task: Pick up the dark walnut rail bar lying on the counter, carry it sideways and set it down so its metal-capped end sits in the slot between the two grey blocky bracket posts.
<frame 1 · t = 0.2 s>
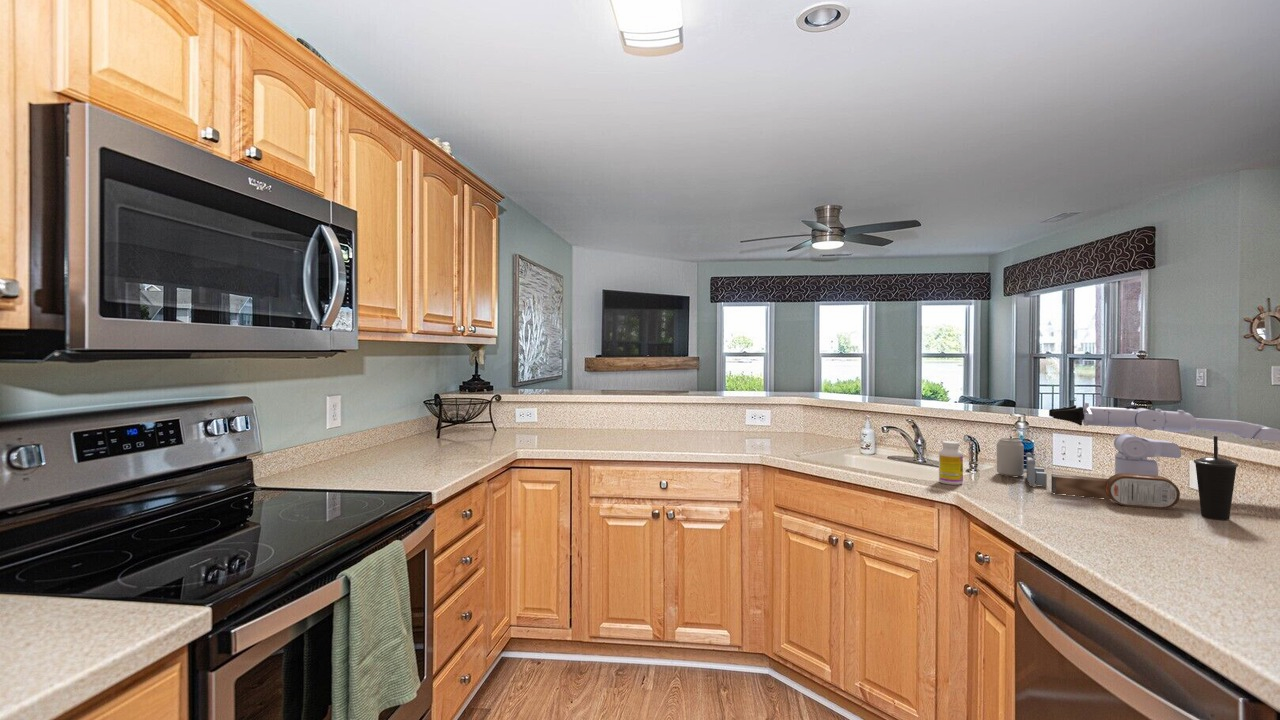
hand: (1051, 413, 178), 21 cm above the counter, tool horizontal, fingers open, 7 cm apart
drinking cup: (1215, 518, 139), on the counter
can: (1010, 475, 187), on the counter
grey blocky bracket: (1036, 482, 176), on the counter
rail: (1080, 495, 161), on the counter
tin: (1141, 507, 149), on the counter
supplement bottle: (950, 483, 177), on the counter
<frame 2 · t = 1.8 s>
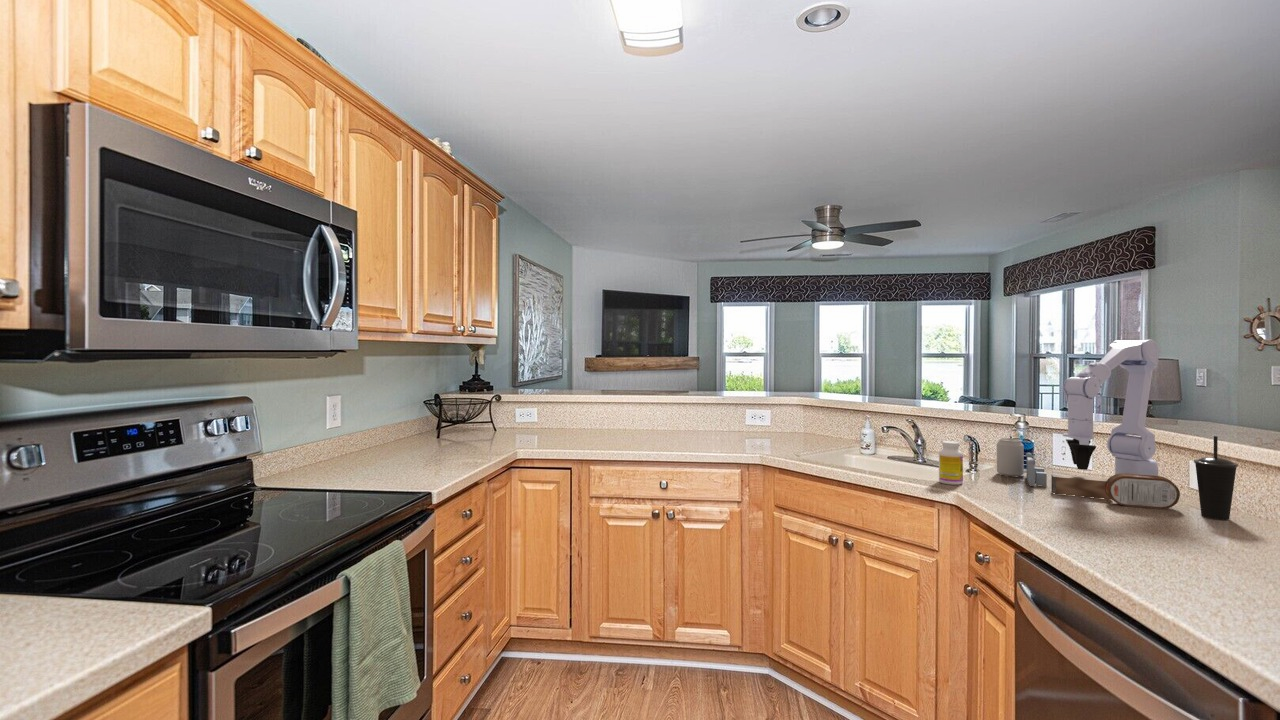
hand: (1080, 466, 161), 8 cm above the counter, tool pointing down, fingers open, 7 cm apart
nothing on the counter moved.
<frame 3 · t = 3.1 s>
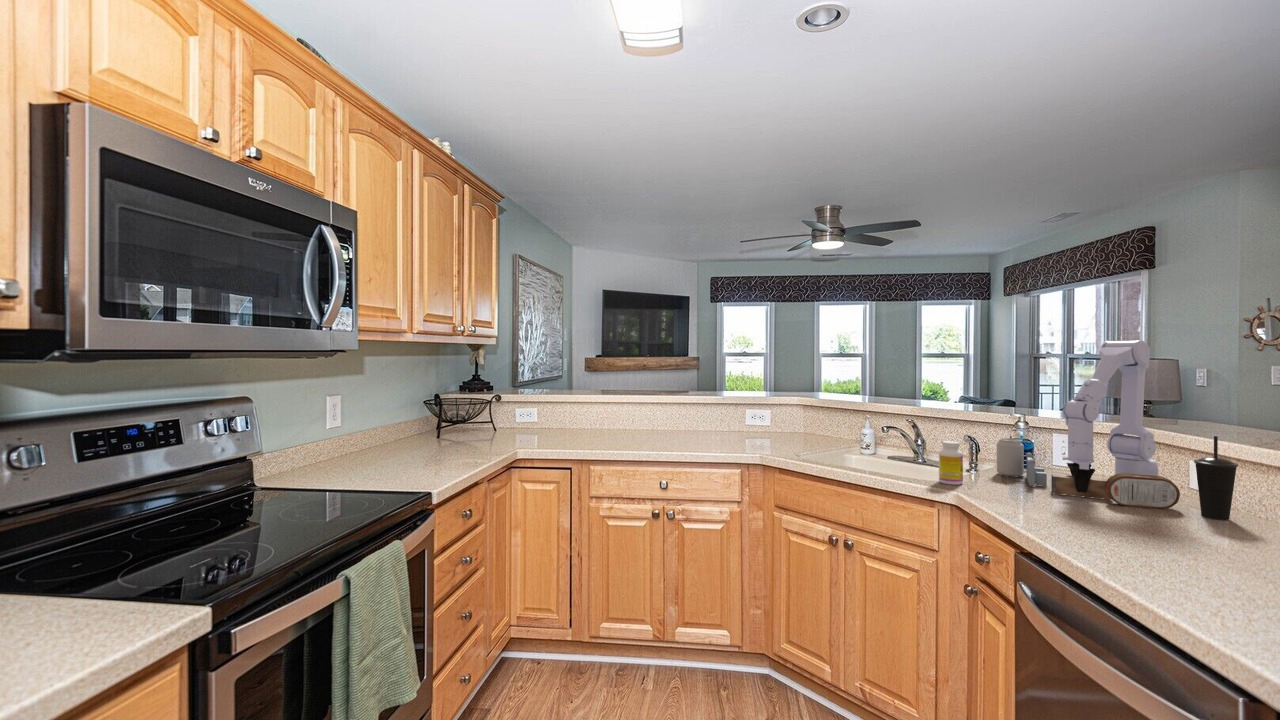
hand: (1080, 490, 161), 1 cm above the counter, tool pointing down, fingers closed on rail, 4 cm apart
rail: (1080, 495, 161), on the counter, touching gripper
everything else where it was.
when the fingers open (2 cm above the counter, at t = 8.0 s): rail stays where it is, on the counter.
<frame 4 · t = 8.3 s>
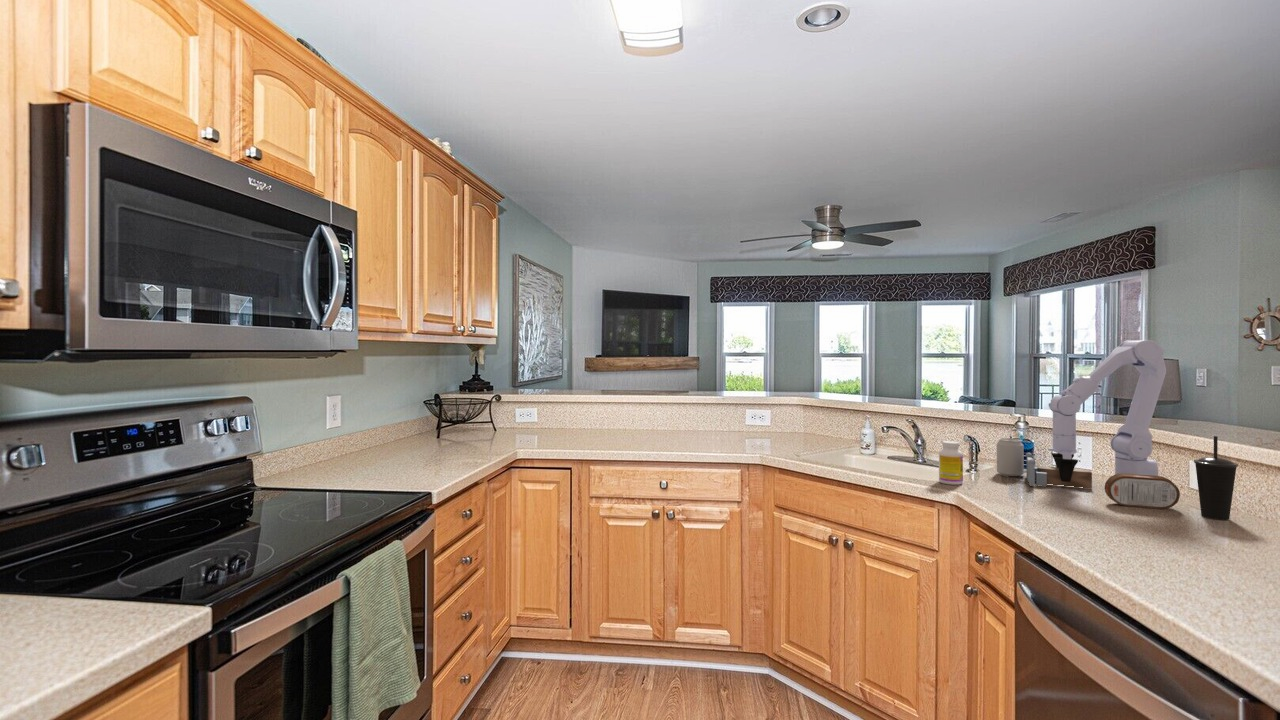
hand: (1064, 479, 173), 2 cm above the counter, tool pointing down, fingers open, 7 cm apart
rail: (1063, 485, 173), on the counter
everything else where it was.
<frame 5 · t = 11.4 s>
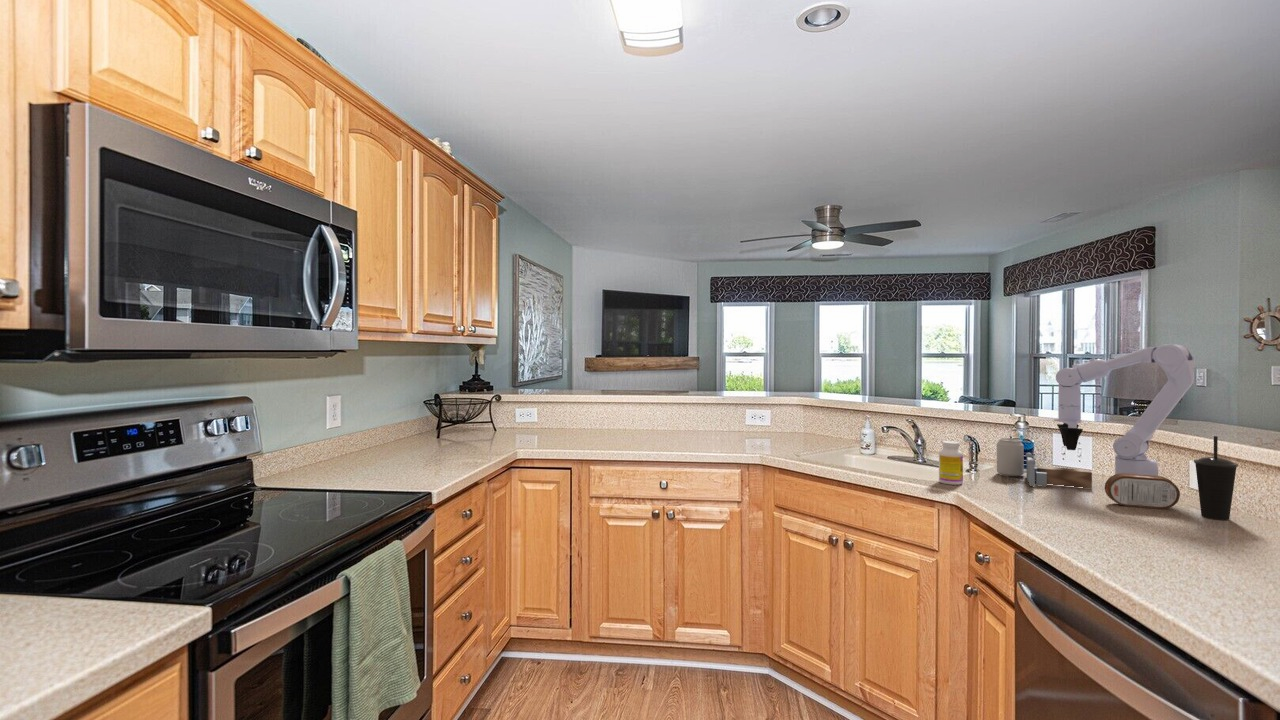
hand: (1069, 448, 181), 10 cm above the counter, tool pointing down, fingers open, 7 cm apart
nothing on the counter moved.
at the end: rail 0.4 cm from the target spot, on the counter; rail tilted 0°; the gripper is holding nothing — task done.
